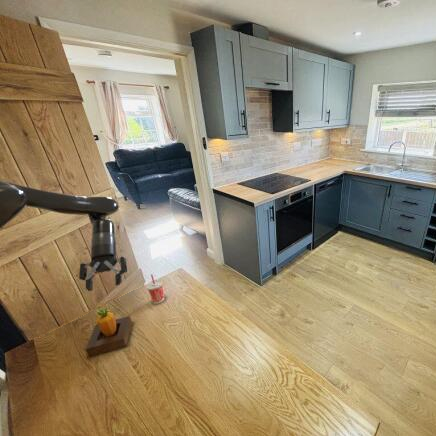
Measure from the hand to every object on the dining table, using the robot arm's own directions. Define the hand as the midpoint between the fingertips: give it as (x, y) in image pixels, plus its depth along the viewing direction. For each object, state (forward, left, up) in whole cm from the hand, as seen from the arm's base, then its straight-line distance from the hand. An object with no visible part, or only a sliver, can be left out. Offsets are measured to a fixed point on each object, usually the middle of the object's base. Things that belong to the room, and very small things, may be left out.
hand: (104, 287), depth 87 cm
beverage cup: (+14, +8, -18) cm, 24 cm away
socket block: (0, -8, -18) cm, 19 cm away
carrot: (0, -8, -18) cm, 20 cm away
